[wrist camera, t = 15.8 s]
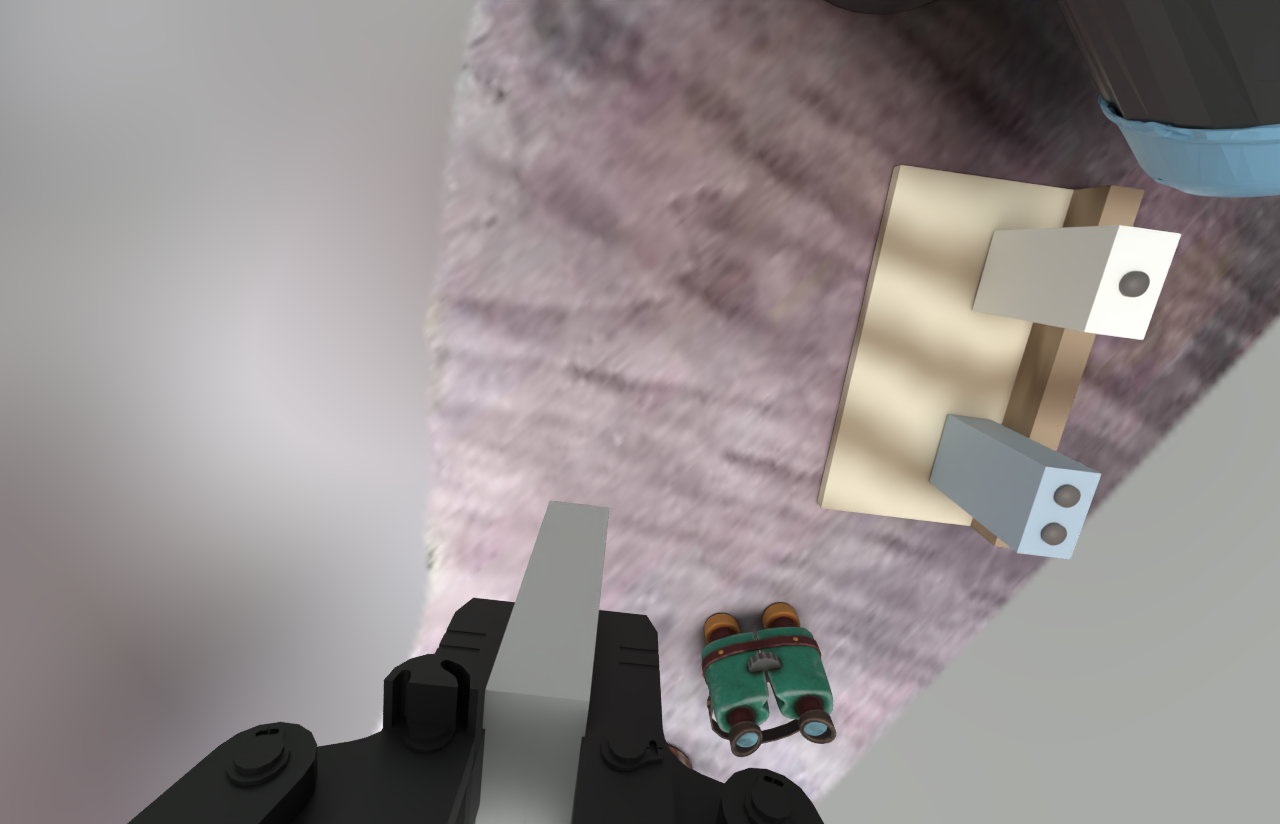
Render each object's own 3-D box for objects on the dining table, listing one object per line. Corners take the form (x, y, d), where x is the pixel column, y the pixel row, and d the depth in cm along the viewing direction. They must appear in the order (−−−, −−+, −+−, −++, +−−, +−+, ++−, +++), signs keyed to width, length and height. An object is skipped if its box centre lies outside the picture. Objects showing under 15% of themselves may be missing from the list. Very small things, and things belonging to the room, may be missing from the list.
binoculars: (729, 834, 39) (706, 725, 36) (708, 703, 49) (688, 607, 45) (865, 812, 39) (855, 700, 35) (816, 684, 49) (804, 586, 45)
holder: (894, 166, 37) (923, 157, 33) (1092, 195, 38) (1144, 190, 34) (816, 502, 43) (834, 527, 40) (989, 523, 44) (1023, 549, 40)
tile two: (948, 414, 40) (1049, 468, 30) (995, 420, 41) (1111, 476, 31) (928, 482, 42) (1020, 555, 32) (974, 487, 42) (1079, 562, 32)
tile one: (994, 230, 37) (1124, 224, 27) (1045, 237, 37) (1193, 234, 27) (972, 310, 38) (1088, 332, 29) (1021, 317, 39) (1154, 341, 29)
